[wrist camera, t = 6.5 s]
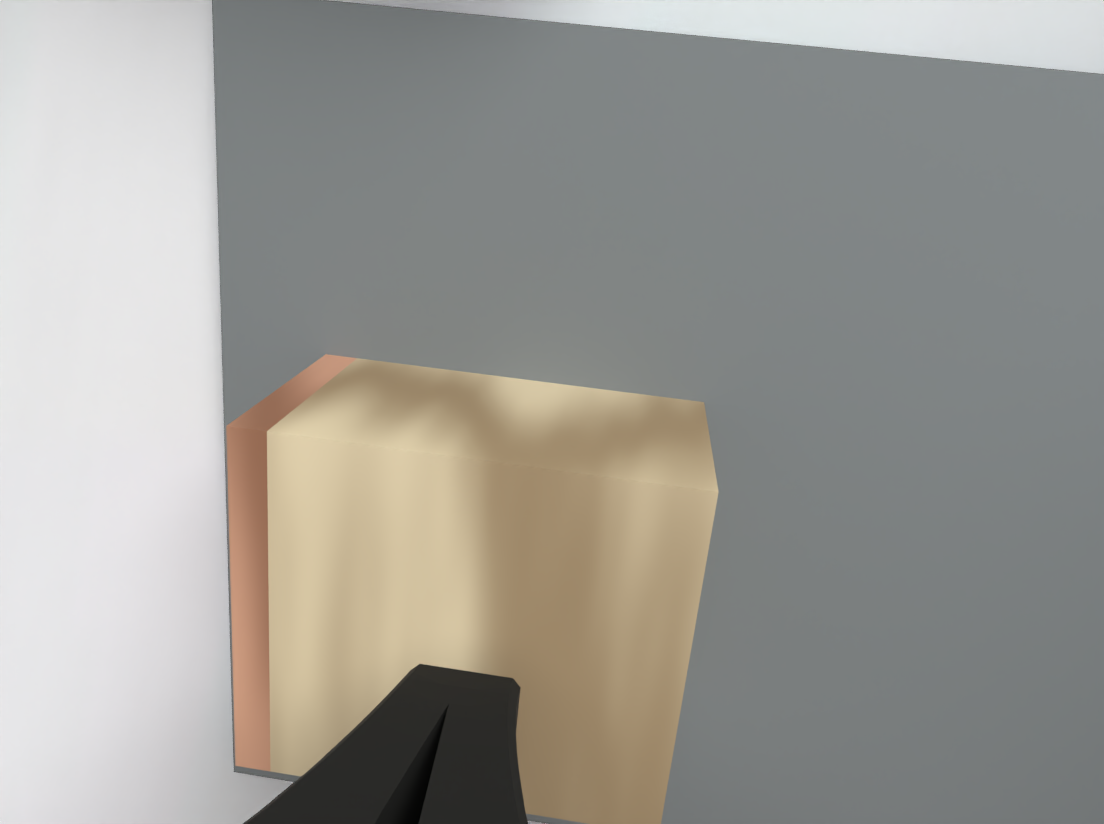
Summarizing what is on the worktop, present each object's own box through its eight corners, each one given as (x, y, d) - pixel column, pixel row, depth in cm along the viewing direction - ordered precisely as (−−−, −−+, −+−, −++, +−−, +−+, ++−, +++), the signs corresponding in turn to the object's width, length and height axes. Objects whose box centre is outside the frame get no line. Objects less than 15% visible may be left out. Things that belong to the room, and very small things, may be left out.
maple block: (718, 492, 12) (225, 426, 13) (658, 835, 14) (234, 766, 15) (704, 401, 16) (325, 354, 16) (658, 682, 18) (321, 631, 18)
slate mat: (1493, 113, 13) (1512, 112, 13) (1154, 912, 19) (1162, 924, 18) (220, -8, 15) (211, -11, 15) (240, 762, 20) (234, 771, 20)
